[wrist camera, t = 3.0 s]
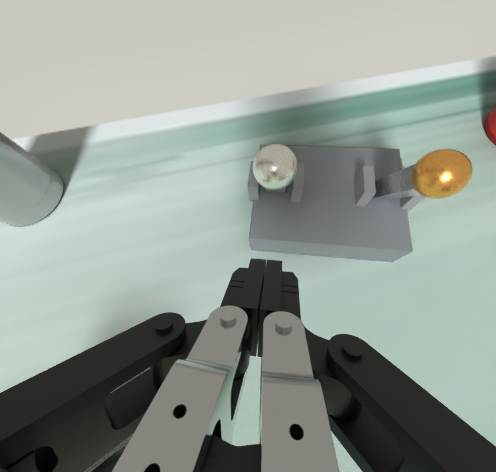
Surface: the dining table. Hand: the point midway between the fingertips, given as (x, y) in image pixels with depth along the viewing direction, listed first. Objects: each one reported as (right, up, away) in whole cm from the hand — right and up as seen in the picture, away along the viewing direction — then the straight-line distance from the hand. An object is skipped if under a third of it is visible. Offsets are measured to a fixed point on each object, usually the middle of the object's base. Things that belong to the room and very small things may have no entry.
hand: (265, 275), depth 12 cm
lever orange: (+13, +7, +12) cm, 19 cm away
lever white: (+2, +8, +14) cm, 16 cm away
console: (+8, +5, +18) cm, 20 cm away
